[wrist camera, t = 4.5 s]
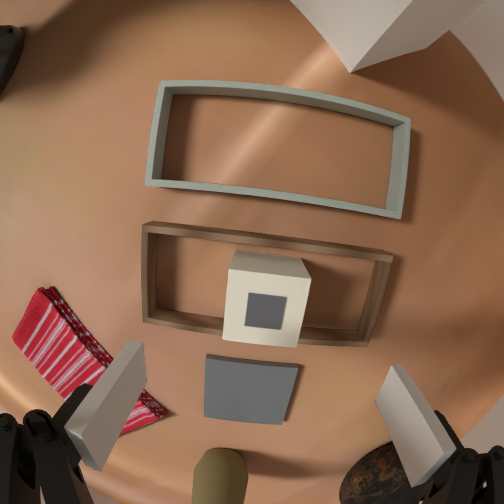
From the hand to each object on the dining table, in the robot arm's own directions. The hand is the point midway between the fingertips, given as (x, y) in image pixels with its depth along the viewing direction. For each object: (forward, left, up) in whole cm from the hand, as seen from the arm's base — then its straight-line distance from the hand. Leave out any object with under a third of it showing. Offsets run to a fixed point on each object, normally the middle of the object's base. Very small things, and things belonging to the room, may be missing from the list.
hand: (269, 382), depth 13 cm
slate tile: (0, -14, -14) cm, 20 cm away
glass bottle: (+26, -32, -14) cm, 43 cm away
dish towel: (-24, -18, -15) cm, 33 cm away
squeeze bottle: (-2, -30, -14) cm, 33 cm away
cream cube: (0, 0, -14) cm, 14 cm away
